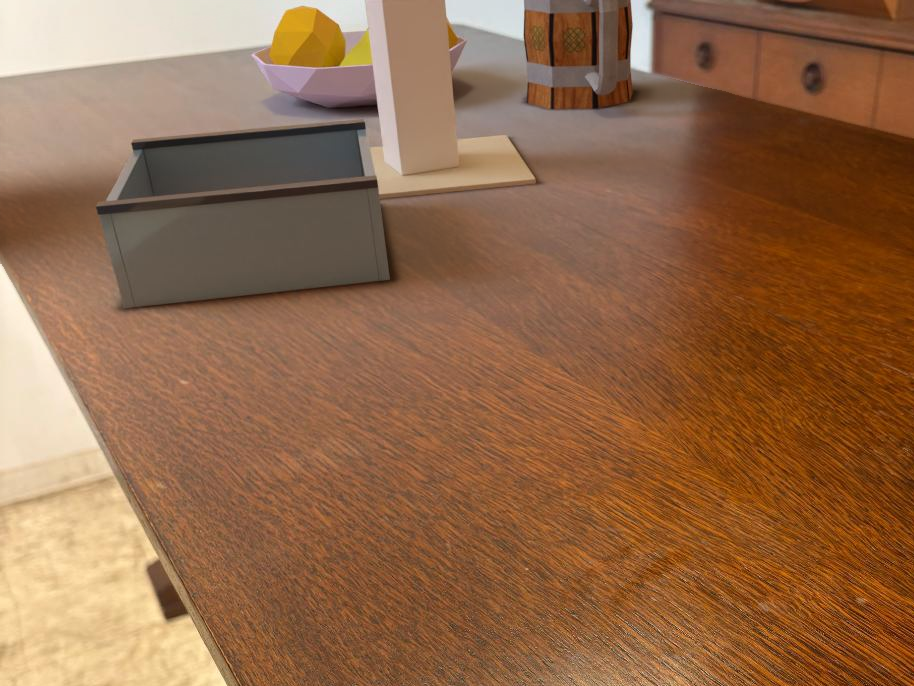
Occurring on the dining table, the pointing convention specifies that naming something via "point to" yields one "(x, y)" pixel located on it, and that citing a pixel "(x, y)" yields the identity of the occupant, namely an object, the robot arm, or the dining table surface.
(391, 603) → the dining table surface
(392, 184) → the mat
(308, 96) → the fruit bowl
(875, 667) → the dining table surface
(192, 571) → the dining table surface
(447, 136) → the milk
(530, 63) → the mug
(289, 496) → the dining table surface
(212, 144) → the gray open box
